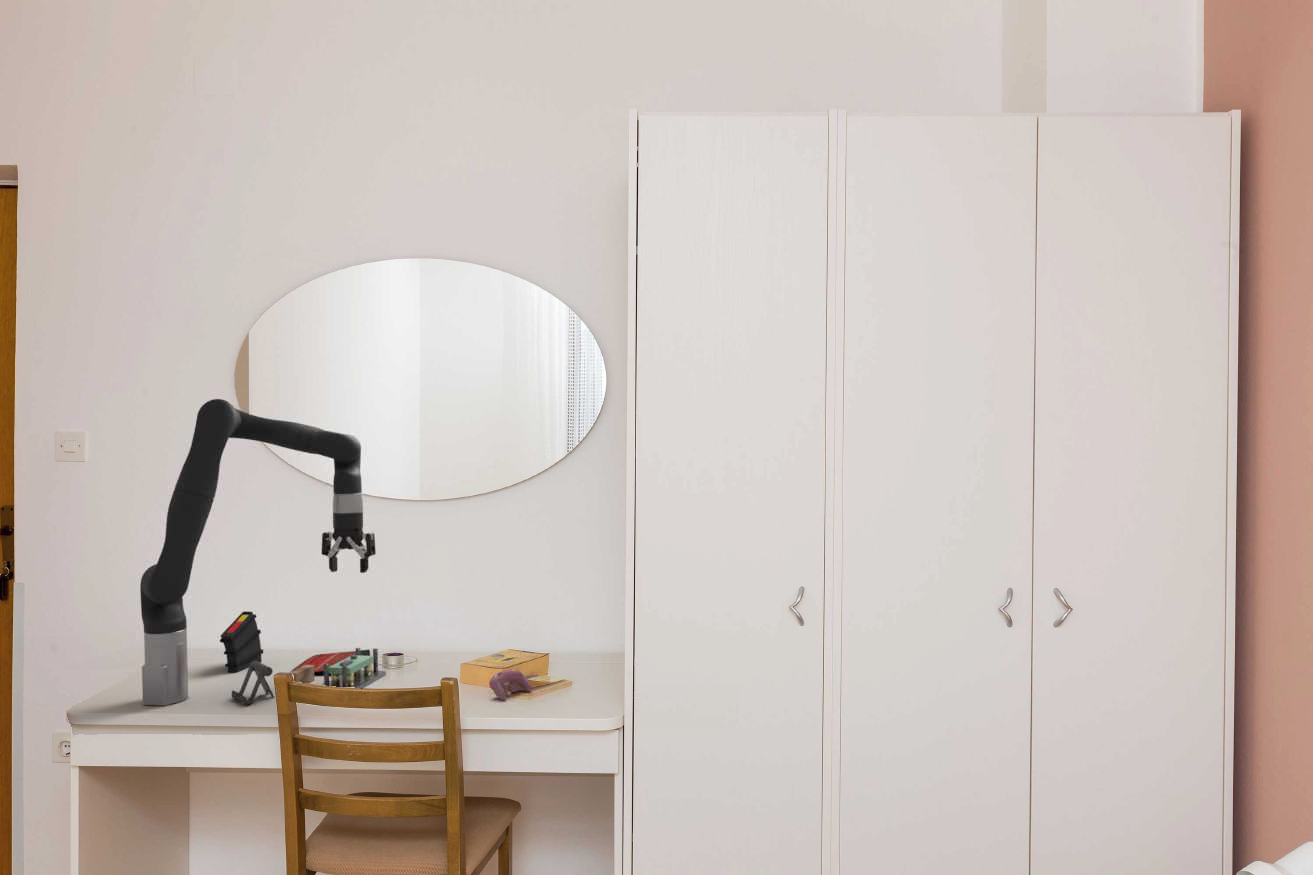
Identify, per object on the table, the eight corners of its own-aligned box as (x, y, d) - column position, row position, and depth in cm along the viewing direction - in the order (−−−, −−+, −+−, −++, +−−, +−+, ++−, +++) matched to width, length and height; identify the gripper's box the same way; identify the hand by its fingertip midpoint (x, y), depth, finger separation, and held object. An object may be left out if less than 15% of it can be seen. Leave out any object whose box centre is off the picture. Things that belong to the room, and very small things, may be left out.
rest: (296, 689, 233) (296, 673, 233) (288, 688, 233) (287, 673, 233) (314, 680, 241) (314, 664, 241) (306, 679, 241) (305, 664, 241)
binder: (370, 648, 266) (347, 668, 245) (370, 656, 266) (347, 677, 245) (314, 651, 266) (286, 672, 245) (314, 660, 266) (287, 681, 245)
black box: (270, 653, 263) (254, 610, 256) (243, 685, 251) (226, 641, 245) (258, 652, 263) (242, 610, 257) (231, 684, 252) (214, 640, 245)
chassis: (352, 693, 228) (352, 665, 228) (316, 691, 230) (315, 664, 230) (385, 674, 245) (385, 648, 245) (351, 673, 247) (350, 647, 247)
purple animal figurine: (523, 695, 230) (514, 668, 232) (534, 690, 228) (525, 662, 230) (492, 705, 223) (483, 677, 225) (503, 699, 220) (494, 671, 222)
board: (350, 674, 231) (349, 665, 231) (328, 673, 232) (328, 664, 232) (373, 661, 243) (373, 652, 243) (352, 661, 244) (352, 652, 244)
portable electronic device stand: (231, 699, 225) (230, 665, 225) (263, 692, 231) (262, 659, 231) (244, 706, 219) (244, 672, 219) (277, 699, 225) (277, 665, 224)
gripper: (315, 511, 240) (316, 573, 240) (365, 512, 237) (366, 575, 237) (331, 508, 247) (332, 569, 247) (379, 509, 244) (380, 570, 244)
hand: (348, 571), depth 242 cm, fingers open, 8 cm apart
